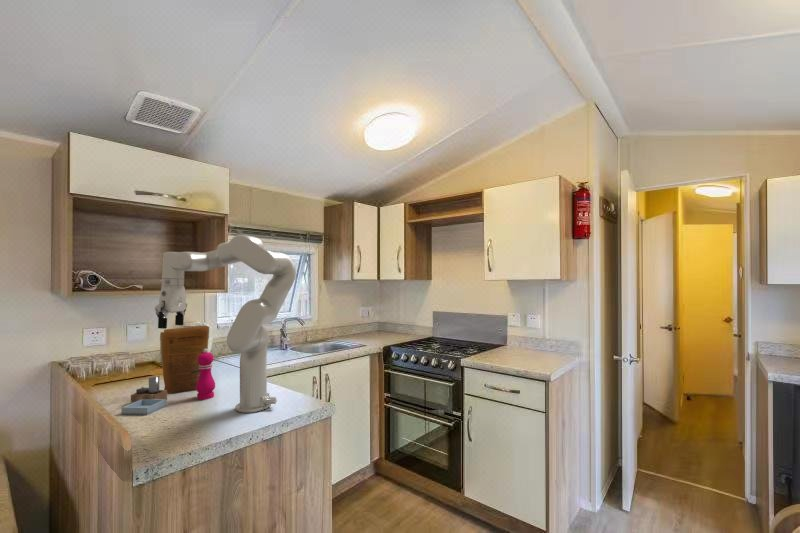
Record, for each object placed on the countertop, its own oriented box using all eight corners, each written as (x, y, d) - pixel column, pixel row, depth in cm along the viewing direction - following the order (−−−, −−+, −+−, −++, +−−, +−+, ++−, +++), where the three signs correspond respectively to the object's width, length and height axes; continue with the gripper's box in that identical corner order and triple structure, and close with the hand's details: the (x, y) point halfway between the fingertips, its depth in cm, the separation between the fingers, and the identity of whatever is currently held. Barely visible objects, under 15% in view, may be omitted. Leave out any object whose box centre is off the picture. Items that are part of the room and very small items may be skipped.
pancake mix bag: (210, 389, 173) (210, 325, 174) (159, 396, 163) (159, 329, 164) (209, 385, 179) (209, 324, 179) (160, 392, 169) (160, 327, 170)
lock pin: (161, 401, 156) (161, 376, 157) (154, 404, 153) (154, 378, 153) (152, 401, 157) (153, 376, 157) (146, 404, 153) (146, 378, 153)
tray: (166, 405, 151) (166, 399, 151) (147, 414, 141) (147, 407, 141) (142, 405, 152) (142, 398, 152) (121, 414, 142) (121, 407, 142)
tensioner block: (167, 399, 158) (167, 385, 158) (154, 405, 151) (154, 389, 151) (144, 399, 159) (144, 384, 159) (130, 405, 152) (130, 389, 152)
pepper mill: (219, 395, 163) (219, 347, 164) (206, 400, 156) (206, 350, 157) (204, 394, 165) (204, 346, 166) (191, 399, 158) (191, 349, 159)
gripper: (166, 284, 145) (164, 330, 144) (195, 283, 162) (193, 324, 161) (147, 283, 145) (145, 329, 145) (178, 282, 162) (176, 323, 162)
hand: (171, 326), depth 153 cm, fingers open, 9 cm apart
